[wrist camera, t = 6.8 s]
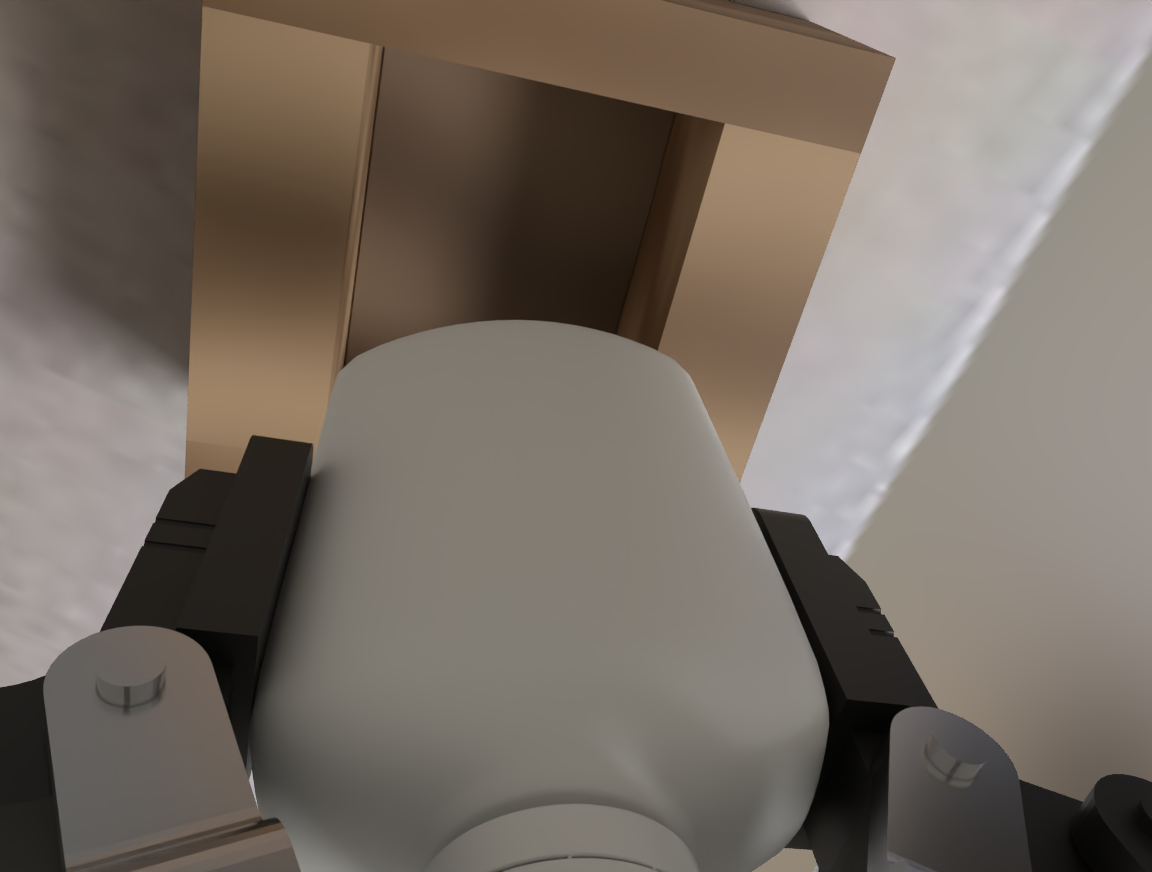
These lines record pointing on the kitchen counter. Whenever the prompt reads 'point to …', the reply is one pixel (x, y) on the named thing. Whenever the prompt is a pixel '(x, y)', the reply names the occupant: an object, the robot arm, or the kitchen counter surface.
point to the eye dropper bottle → (531, 623)
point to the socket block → (508, 190)
